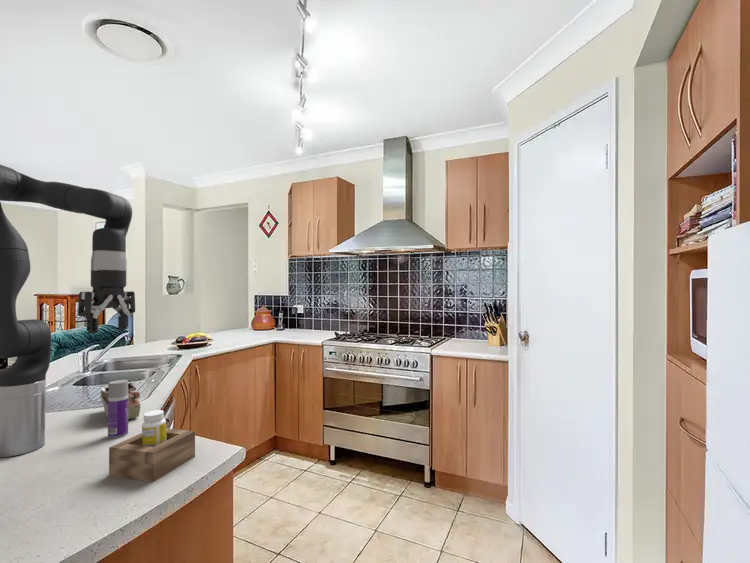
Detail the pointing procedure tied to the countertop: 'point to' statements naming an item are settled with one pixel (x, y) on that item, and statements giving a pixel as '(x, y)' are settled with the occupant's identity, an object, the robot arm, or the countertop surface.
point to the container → (118, 409)
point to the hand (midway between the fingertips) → (108, 331)
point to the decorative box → (132, 400)
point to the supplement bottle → (154, 428)
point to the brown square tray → (151, 456)
